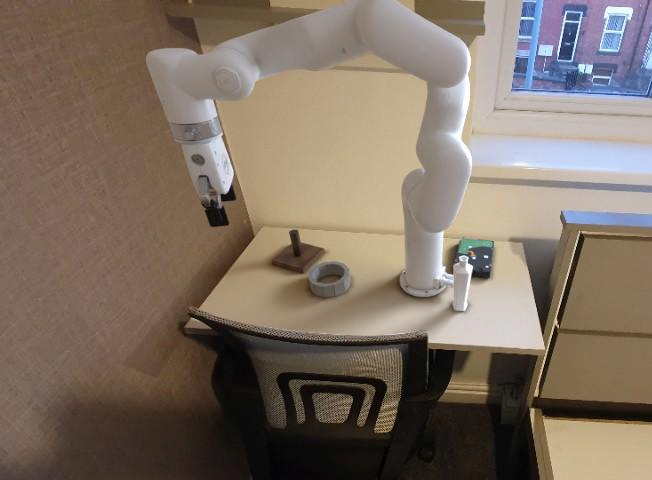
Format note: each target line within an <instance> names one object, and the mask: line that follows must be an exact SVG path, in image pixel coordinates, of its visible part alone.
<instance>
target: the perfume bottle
mask: <svg viewBox="0 0 652 480" xmlns="http://www.w3.org/2000/svg"><path fill="white" fill-rule="evenodd" d="M459 259H460V260H459V263H457V264H454V263H453V265H452V269H453V270H452V271H453V273H452V275H453V278H454V280H453V281H454V288H453V301H452V303H451V305H452V307H453V310H454V311H457V312H465V311H466V309H467V307H468V302H467V300H468V296H469V289H470V284H471V278H472V276H471V274H472V269H473V266H471V265H469V264H468V257H466V256H464V255H463V256H460V257H459Z"/></svg>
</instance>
